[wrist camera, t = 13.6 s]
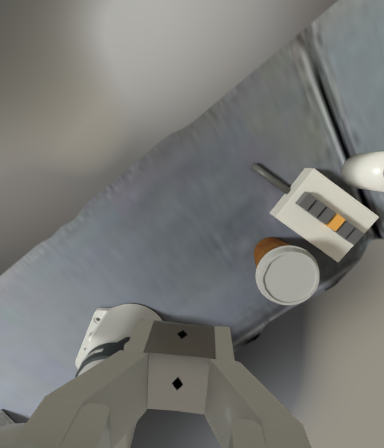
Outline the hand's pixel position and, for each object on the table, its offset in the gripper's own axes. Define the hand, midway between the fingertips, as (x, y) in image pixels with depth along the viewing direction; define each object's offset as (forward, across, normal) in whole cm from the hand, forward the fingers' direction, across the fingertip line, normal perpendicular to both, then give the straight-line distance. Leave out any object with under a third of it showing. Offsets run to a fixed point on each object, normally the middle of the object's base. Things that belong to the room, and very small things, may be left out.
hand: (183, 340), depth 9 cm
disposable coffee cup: (+41, -14, +10) cm, 45 cm away
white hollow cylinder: (+41, -27, -7) cm, 50 cm away
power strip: (+41, -18, -1) cm, 45 cm away
